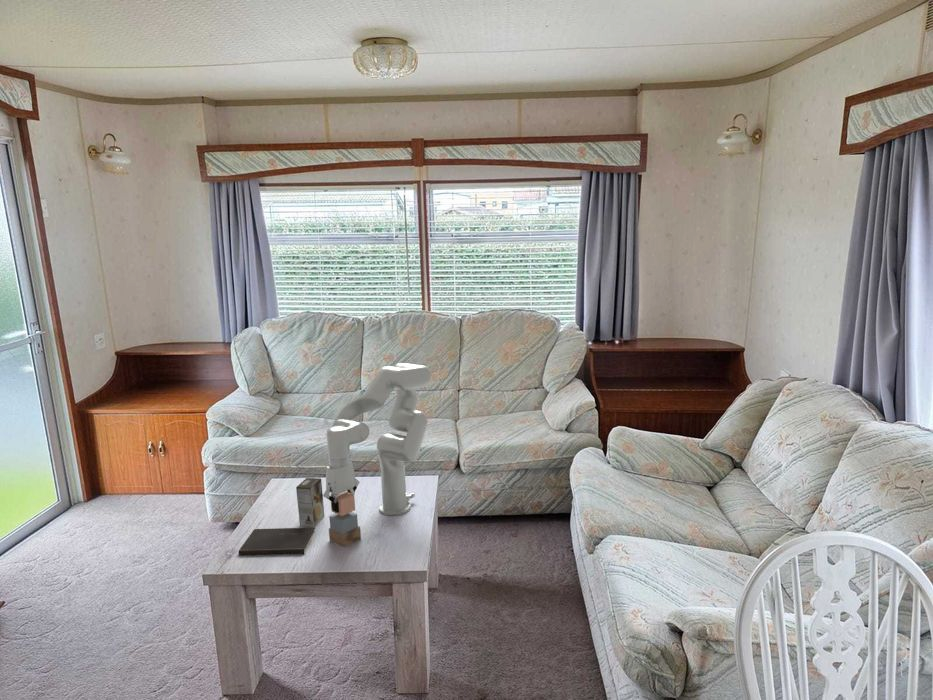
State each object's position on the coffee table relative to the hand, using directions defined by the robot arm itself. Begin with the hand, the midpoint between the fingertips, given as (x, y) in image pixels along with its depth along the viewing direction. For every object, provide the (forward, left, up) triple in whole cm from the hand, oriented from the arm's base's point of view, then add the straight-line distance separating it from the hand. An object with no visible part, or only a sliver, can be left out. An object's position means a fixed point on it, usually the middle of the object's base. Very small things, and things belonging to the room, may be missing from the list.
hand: (343, 507), depth 214 cm
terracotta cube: (0, 0, -1) cm, 1 cm away
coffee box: (-1, -22, -13) cm, 25 cm away
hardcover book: (+17, -17, -13) cm, 28 cm away
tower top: (0, 0, -8) cm, 8 cm away
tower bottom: (0, 0, -13) cm, 13 cm away
